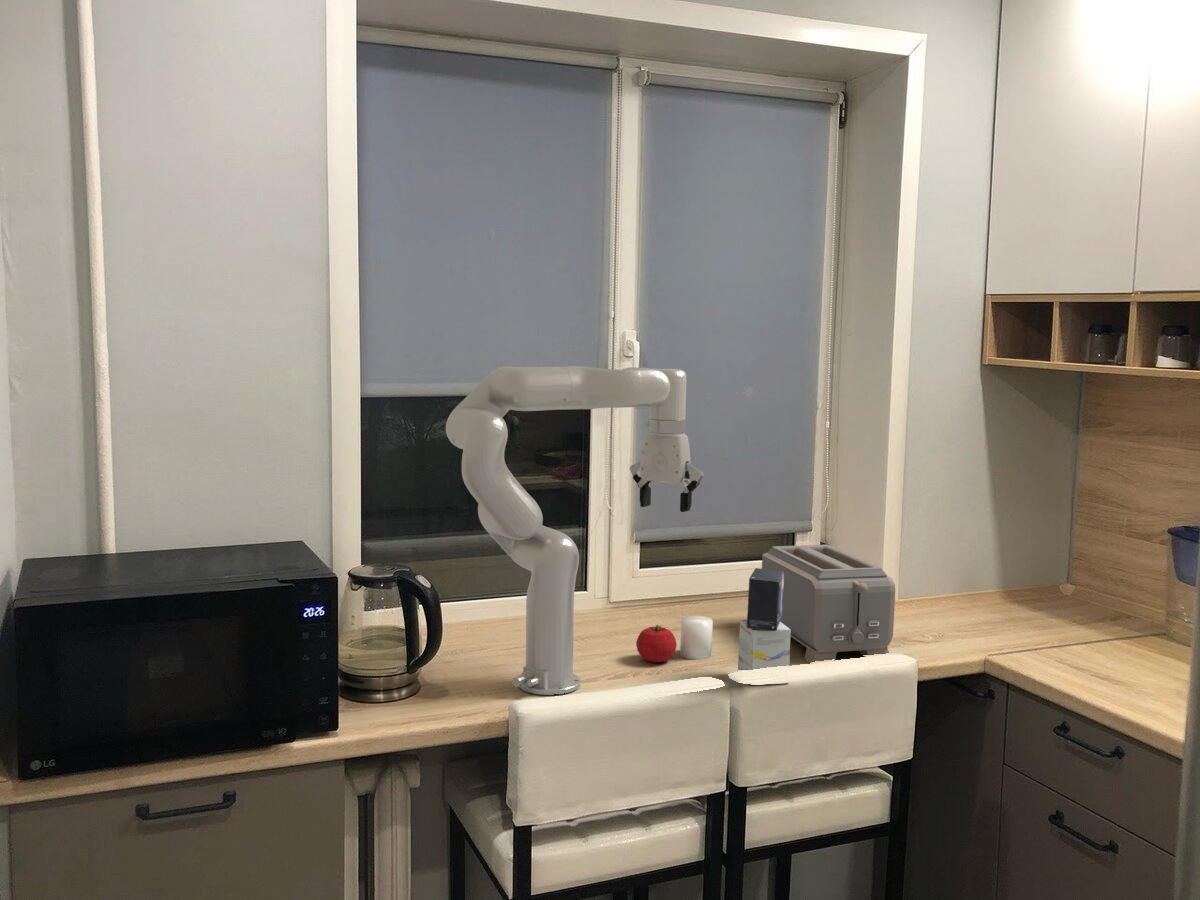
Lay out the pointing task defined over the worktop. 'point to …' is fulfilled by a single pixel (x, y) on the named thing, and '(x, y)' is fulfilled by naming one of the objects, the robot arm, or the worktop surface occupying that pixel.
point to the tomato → (656, 644)
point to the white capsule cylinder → (696, 637)
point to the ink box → (763, 647)
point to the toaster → (833, 600)
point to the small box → (765, 599)
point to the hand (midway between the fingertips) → (665, 508)
